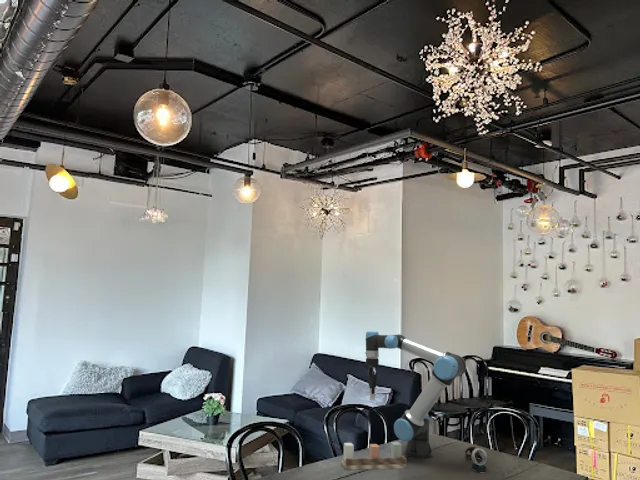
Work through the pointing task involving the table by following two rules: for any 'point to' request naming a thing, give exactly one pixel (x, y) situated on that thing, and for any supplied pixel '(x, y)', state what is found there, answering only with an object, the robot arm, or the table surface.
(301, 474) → the table surface
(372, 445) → the terracotta key
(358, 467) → the birch key console
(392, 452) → the pale green upright block
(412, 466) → the table surface
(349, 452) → the off-white key
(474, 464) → the small desk fan
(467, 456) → the pottery mug
